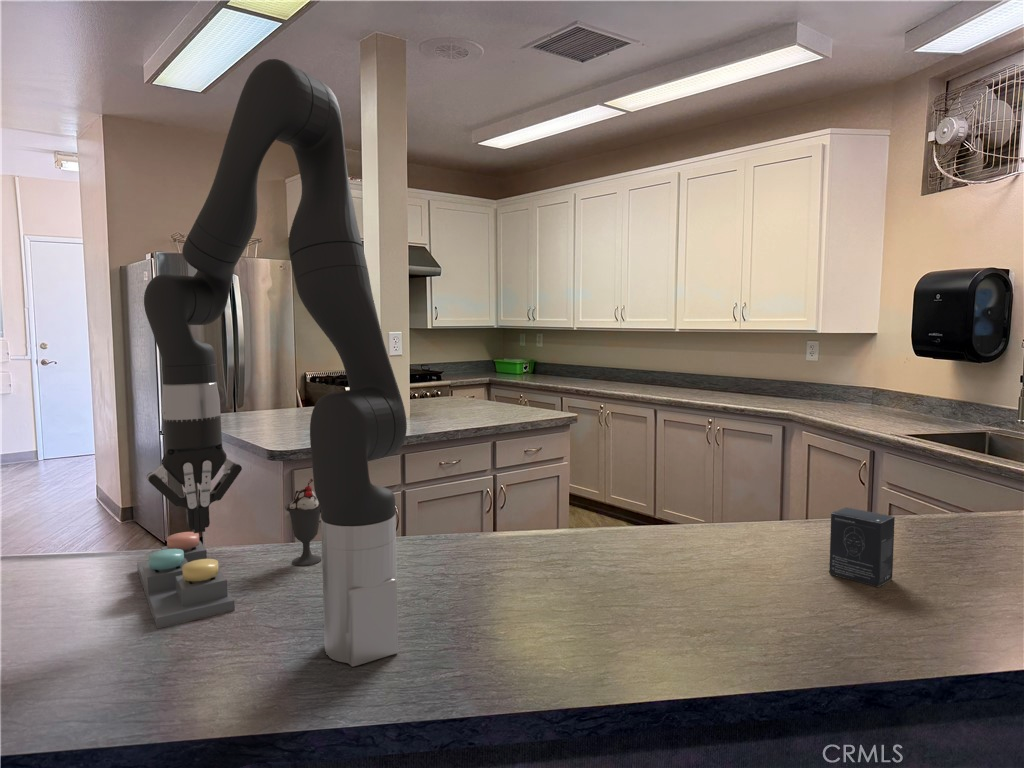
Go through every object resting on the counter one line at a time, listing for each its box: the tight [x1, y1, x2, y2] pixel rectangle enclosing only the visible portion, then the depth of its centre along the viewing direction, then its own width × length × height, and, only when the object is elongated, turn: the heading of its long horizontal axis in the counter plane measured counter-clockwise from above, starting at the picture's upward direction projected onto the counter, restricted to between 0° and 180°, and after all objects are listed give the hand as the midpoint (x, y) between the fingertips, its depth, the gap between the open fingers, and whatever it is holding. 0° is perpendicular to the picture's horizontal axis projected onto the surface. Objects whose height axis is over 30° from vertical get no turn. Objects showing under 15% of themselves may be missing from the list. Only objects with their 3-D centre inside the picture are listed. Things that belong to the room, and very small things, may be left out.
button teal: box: [148, 549, 184, 572], centre depth 101 cm, size 5×5×4 cm
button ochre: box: [182, 558, 219, 584], centre depth 97 cm, size 5×5×4 cm
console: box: [136, 540, 236, 629], centre depth 103 cm, size 26×10×4 cm, turn 35°
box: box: [828, 507, 896, 588], centre depth 107 cm, size 8×6×11 cm
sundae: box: [284, 478, 322, 567], centre depth 114 cm, size 7×7×15 cm
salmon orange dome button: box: [166, 531, 200, 552], centre depth 110 cm, size 5×5×4 cm
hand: (199, 531), depth 96 cm, fingers closed
